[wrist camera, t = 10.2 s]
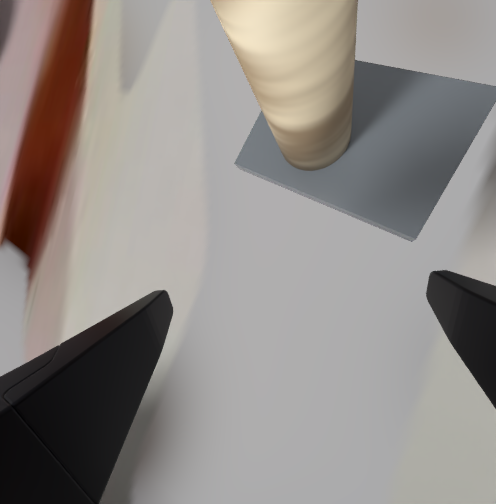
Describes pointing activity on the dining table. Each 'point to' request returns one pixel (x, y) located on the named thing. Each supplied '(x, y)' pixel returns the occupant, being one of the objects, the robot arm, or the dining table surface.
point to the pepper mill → (298, 71)
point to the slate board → (386, 147)
